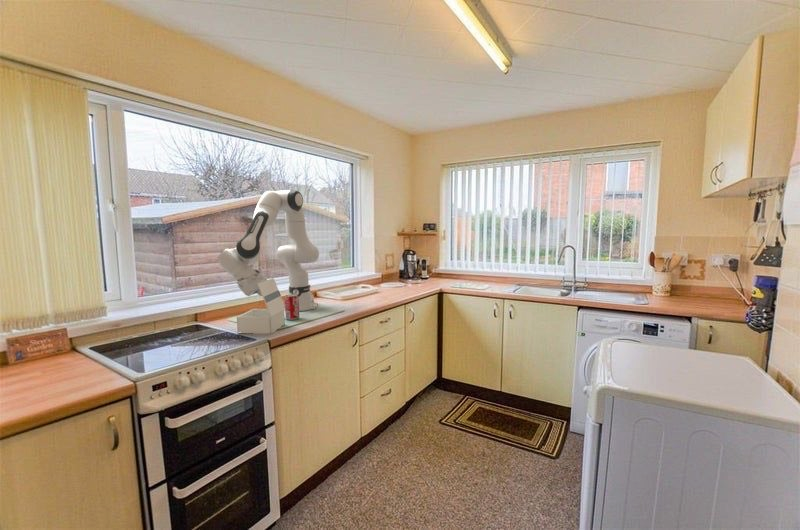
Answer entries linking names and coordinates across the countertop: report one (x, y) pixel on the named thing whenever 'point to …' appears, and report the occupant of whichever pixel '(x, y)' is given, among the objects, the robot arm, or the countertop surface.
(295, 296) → the soda can
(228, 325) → the countertop surface
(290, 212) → the robot arm
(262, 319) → the box
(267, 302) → the mailer lid
